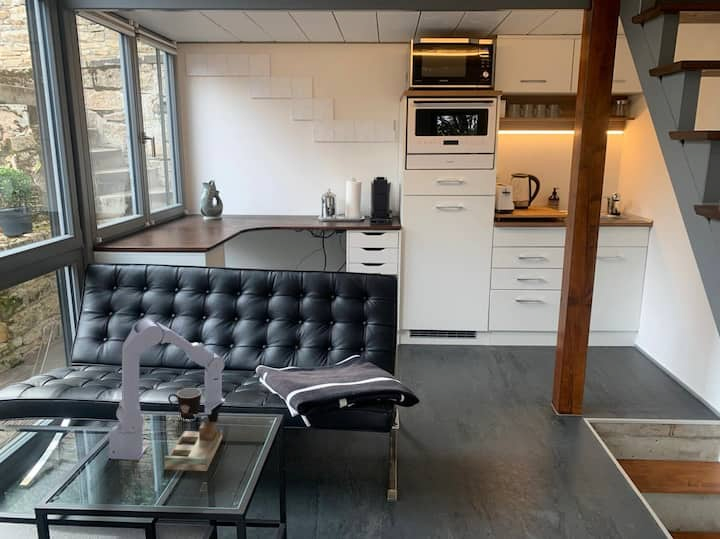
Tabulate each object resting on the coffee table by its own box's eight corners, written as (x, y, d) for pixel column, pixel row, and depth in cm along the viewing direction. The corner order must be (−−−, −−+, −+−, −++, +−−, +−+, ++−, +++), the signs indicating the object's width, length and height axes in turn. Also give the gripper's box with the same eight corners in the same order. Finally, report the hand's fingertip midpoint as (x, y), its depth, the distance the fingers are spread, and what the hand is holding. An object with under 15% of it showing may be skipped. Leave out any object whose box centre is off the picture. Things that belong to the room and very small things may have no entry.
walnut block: (199, 440, 181) (199, 428, 180) (203, 433, 185) (202, 421, 184) (212, 441, 181) (212, 428, 180) (216, 434, 185) (216, 422, 184)
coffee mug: (206, 417, 201) (206, 392, 199) (188, 426, 194) (187, 400, 192) (185, 408, 207) (185, 383, 205) (166, 416, 200) (166, 391, 198)
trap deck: (164, 469, 167) (164, 457, 166) (184, 436, 187) (184, 425, 186) (206, 470, 167) (206, 459, 167) (222, 438, 187) (222, 427, 186)
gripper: (219, 397, 180) (219, 434, 183) (229, 379, 194) (229, 414, 197) (198, 396, 180) (198, 433, 183) (209, 378, 194) (210, 413, 197)
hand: (213, 423), depth 190 cm, fingers closed
